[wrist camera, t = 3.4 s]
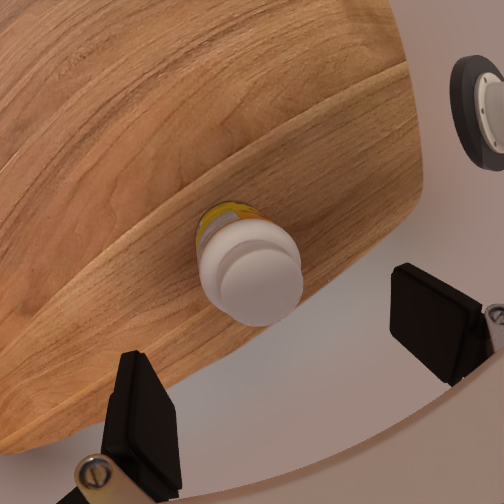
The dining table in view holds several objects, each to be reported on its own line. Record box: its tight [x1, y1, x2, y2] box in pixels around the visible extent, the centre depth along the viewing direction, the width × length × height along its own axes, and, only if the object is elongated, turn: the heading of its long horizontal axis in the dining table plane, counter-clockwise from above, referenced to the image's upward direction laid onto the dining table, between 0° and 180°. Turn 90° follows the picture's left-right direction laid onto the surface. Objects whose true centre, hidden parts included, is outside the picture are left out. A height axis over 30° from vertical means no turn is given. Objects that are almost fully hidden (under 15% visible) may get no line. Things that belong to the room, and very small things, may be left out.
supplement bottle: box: [195, 201, 303, 327], centre depth 18 cm, size 6×6×10 cm
